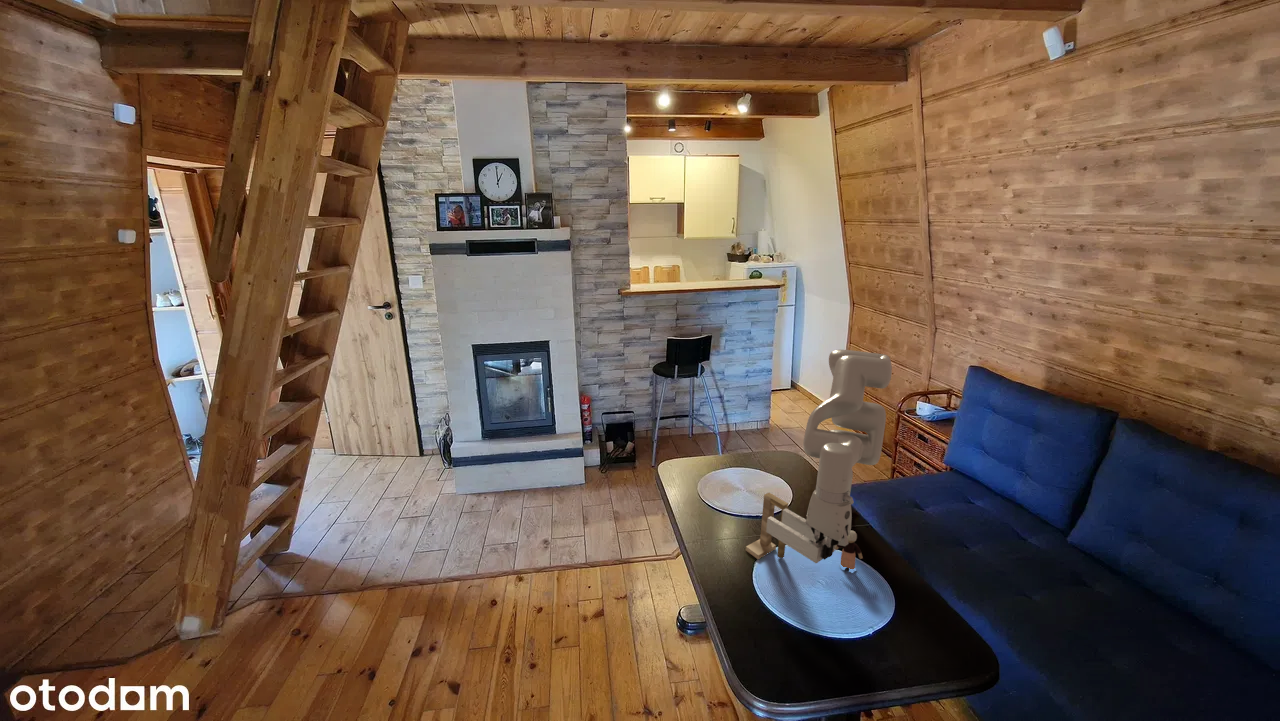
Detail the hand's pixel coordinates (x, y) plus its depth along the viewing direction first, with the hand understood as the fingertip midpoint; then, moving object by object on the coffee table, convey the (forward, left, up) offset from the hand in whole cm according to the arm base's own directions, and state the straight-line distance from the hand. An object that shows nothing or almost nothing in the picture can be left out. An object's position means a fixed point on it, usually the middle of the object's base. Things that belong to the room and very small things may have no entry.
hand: (823, 554), depth 128 cm
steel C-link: (0, -7, -1) cm, 7 cm away
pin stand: (-4, -21, -16) cm, 26 cm away
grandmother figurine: (-19, -3, -16) cm, 25 cm away
